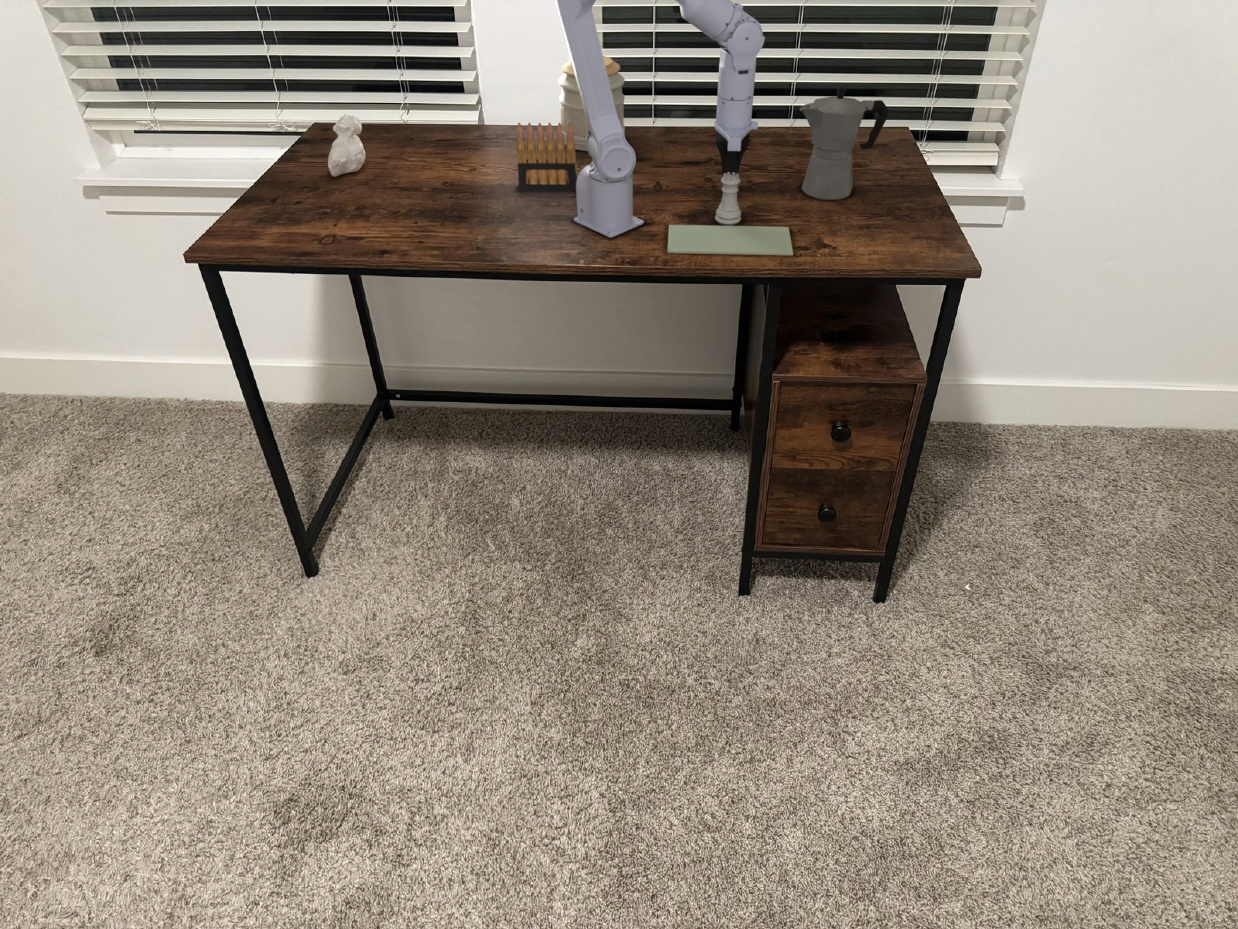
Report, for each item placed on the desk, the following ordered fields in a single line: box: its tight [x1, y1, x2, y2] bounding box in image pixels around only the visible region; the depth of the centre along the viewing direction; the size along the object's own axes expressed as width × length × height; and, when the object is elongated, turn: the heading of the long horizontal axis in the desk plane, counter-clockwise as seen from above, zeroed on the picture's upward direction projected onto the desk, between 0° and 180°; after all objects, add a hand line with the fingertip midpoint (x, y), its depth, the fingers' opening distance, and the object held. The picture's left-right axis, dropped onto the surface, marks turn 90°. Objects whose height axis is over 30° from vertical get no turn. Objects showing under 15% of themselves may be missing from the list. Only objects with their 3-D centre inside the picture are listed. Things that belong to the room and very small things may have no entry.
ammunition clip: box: [516, 122, 578, 192], centre depth 159 cm, size 11×2×12 cm, turn 88°
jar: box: [557, 55, 626, 152], centre depth 175 cm, size 13×13×18 cm
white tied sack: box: [327, 113, 366, 178], centre depth 167 cm, size 12×8×11 cm
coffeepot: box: [799, 85, 890, 201], centre depth 155 cm, size 15×9×18 cm, turn 92°
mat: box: [666, 224, 794, 256], centre depth 145 cm, size 20×10×1 cm, turn 86°
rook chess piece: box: [714, 172, 742, 226], centre depth 149 cm, size 4×4×8 cm
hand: (729, 177), depth 151 cm, fingers closed
